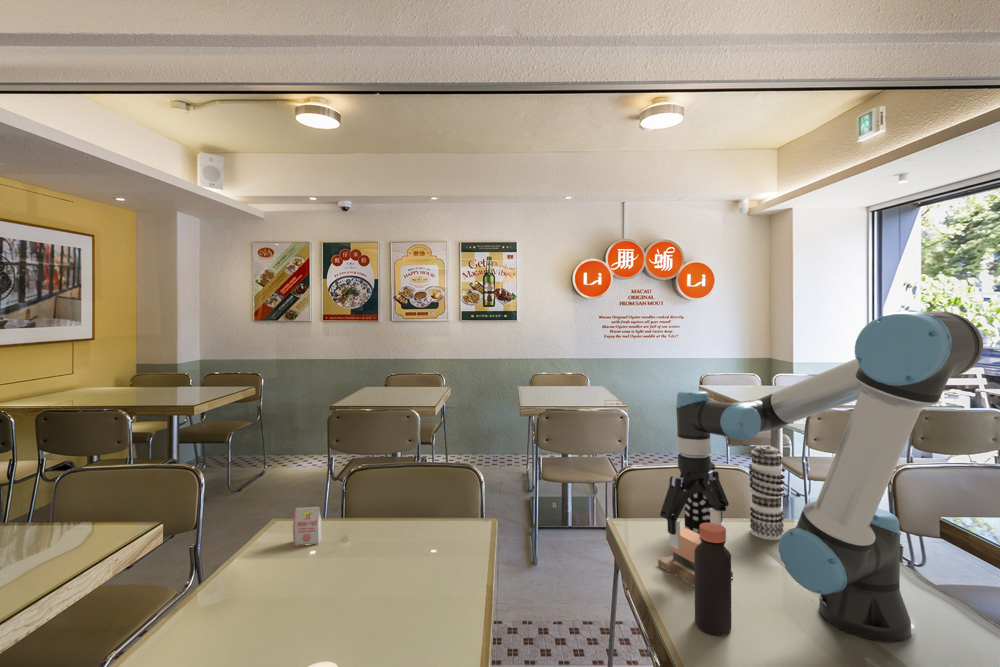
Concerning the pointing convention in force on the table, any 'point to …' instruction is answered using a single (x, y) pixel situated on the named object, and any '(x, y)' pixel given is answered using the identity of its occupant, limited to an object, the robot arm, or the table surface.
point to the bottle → (712, 580)
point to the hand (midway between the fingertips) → (696, 541)
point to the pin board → (680, 567)
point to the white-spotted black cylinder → (697, 510)
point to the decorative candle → (766, 492)
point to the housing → (687, 544)
